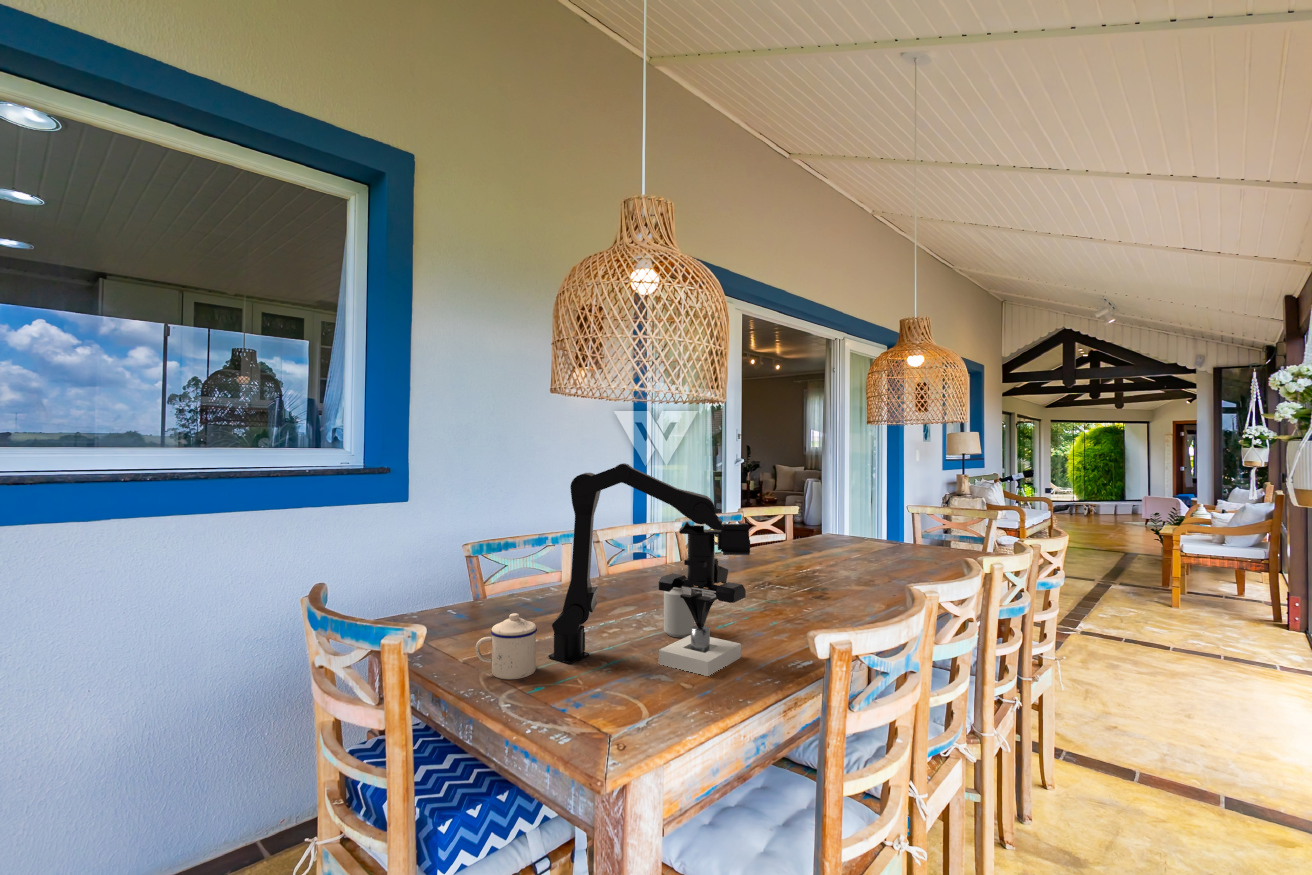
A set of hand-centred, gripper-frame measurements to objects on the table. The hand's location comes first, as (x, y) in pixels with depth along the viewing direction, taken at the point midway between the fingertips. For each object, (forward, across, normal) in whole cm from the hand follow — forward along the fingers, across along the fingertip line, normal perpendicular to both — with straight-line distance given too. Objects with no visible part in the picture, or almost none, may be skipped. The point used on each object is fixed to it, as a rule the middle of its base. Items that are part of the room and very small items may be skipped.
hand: (700, 627), depth 134 cm
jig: (+7, 0, 0) cm, 7 cm away
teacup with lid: (+7, +28, +29) cm, 41 cm away
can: (+7, +14, -13) cm, 20 cm away
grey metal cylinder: (+7, 0, 0) cm, 7 cm away
